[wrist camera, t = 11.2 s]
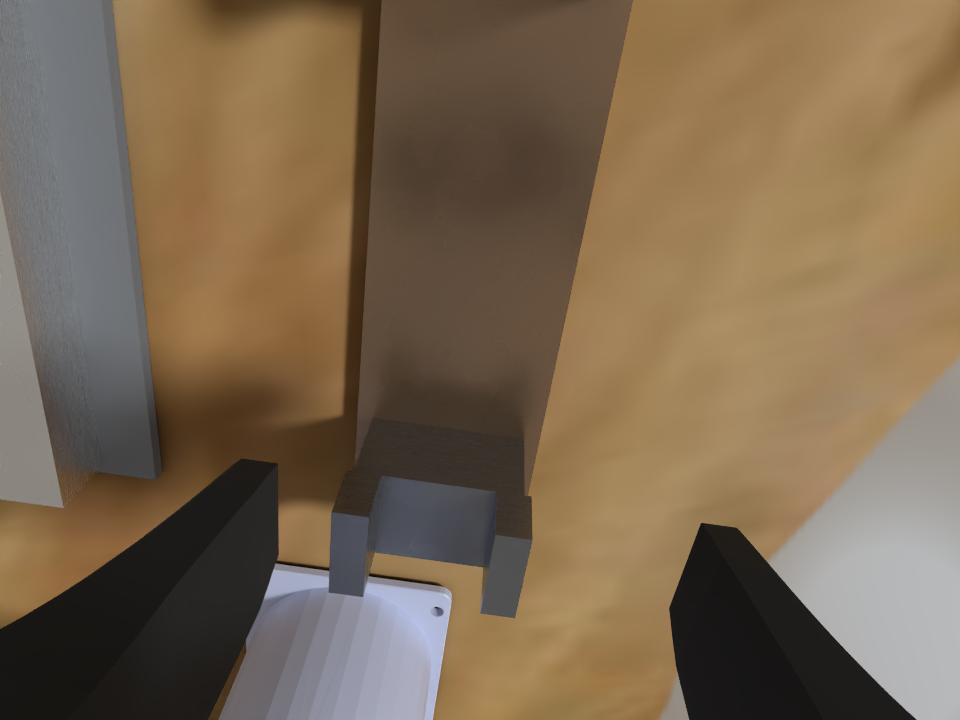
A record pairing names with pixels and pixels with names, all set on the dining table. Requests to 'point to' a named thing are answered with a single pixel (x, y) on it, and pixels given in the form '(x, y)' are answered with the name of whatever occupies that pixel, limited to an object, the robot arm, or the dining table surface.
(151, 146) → the dining table surface
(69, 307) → the rail
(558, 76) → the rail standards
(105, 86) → the mat
